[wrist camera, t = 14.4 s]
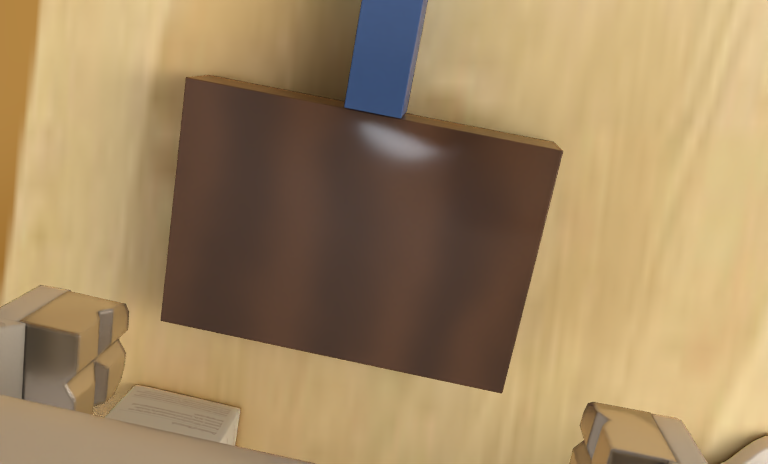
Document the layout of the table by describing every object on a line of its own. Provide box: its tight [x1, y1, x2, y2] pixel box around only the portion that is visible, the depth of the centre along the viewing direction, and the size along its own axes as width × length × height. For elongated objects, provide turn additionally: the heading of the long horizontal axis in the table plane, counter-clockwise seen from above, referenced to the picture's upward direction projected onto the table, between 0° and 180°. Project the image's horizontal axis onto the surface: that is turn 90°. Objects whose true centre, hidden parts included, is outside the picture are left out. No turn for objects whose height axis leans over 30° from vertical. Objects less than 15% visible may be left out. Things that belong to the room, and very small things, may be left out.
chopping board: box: [161, 75, 563, 393], centre depth 40 cm, size 20×14×4 cm
